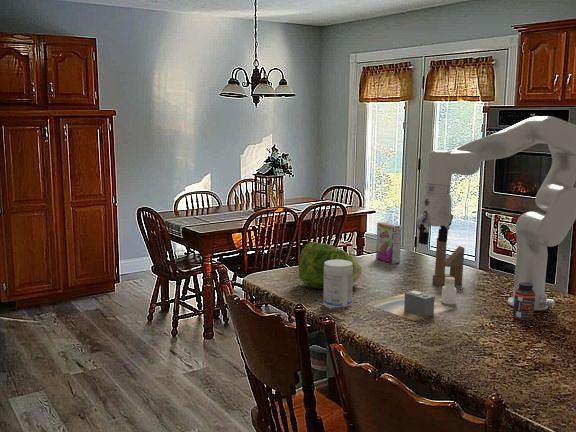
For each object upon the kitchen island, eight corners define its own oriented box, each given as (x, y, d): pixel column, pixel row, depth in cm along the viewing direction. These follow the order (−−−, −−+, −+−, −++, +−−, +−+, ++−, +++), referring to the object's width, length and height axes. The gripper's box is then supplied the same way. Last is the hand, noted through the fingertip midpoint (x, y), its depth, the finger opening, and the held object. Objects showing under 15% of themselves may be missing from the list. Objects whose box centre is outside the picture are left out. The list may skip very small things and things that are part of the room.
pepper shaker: (452, 303, 196) (453, 276, 194) (456, 307, 192) (457, 279, 190) (440, 303, 196) (442, 276, 194) (444, 307, 192) (445, 279, 190)
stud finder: (433, 314, 181) (434, 295, 180) (424, 317, 178) (425, 297, 177) (413, 308, 187) (414, 289, 186) (404, 311, 184) (405, 291, 183)
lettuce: (355, 301, 217) (373, 277, 205) (295, 294, 210) (311, 269, 199) (348, 265, 228) (366, 240, 216) (292, 257, 221) (306, 231, 209)
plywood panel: (453, 311, 188) (454, 308, 187) (414, 324, 175) (414, 320, 175) (404, 296, 203) (405, 293, 203) (365, 307, 190) (365, 304, 190)
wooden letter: (462, 284, 220) (465, 237, 217) (437, 286, 217) (439, 239, 214) (456, 281, 223) (459, 235, 220) (432, 283, 220) (434, 237, 217)
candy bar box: (375, 258, 259) (376, 222, 256) (383, 257, 261) (385, 221, 258) (391, 264, 249) (393, 226, 246) (400, 263, 252) (402, 225, 249)
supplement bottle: (520, 322, 179) (523, 286, 177) (508, 316, 184) (511, 281, 182) (537, 320, 180) (540, 285, 178) (524, 314, 186) (527, 280, 184)
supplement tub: (341, 300, 198) (342, 257, 196) (357, 307, 190) (359, 264, 188) (317, 304, 193) (318, 260, 191) (333, 312, 185) (334, 267, 183)
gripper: (429, 191, 176) (424, 247, 178) (464, 190, 186) (458, 242, 189) (410, 188, 182) (405, 242, 184) (445, 187, 192) (440, 238, 195)
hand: (432, 242), depth 187 cm, fingers open, 9 cm apart
